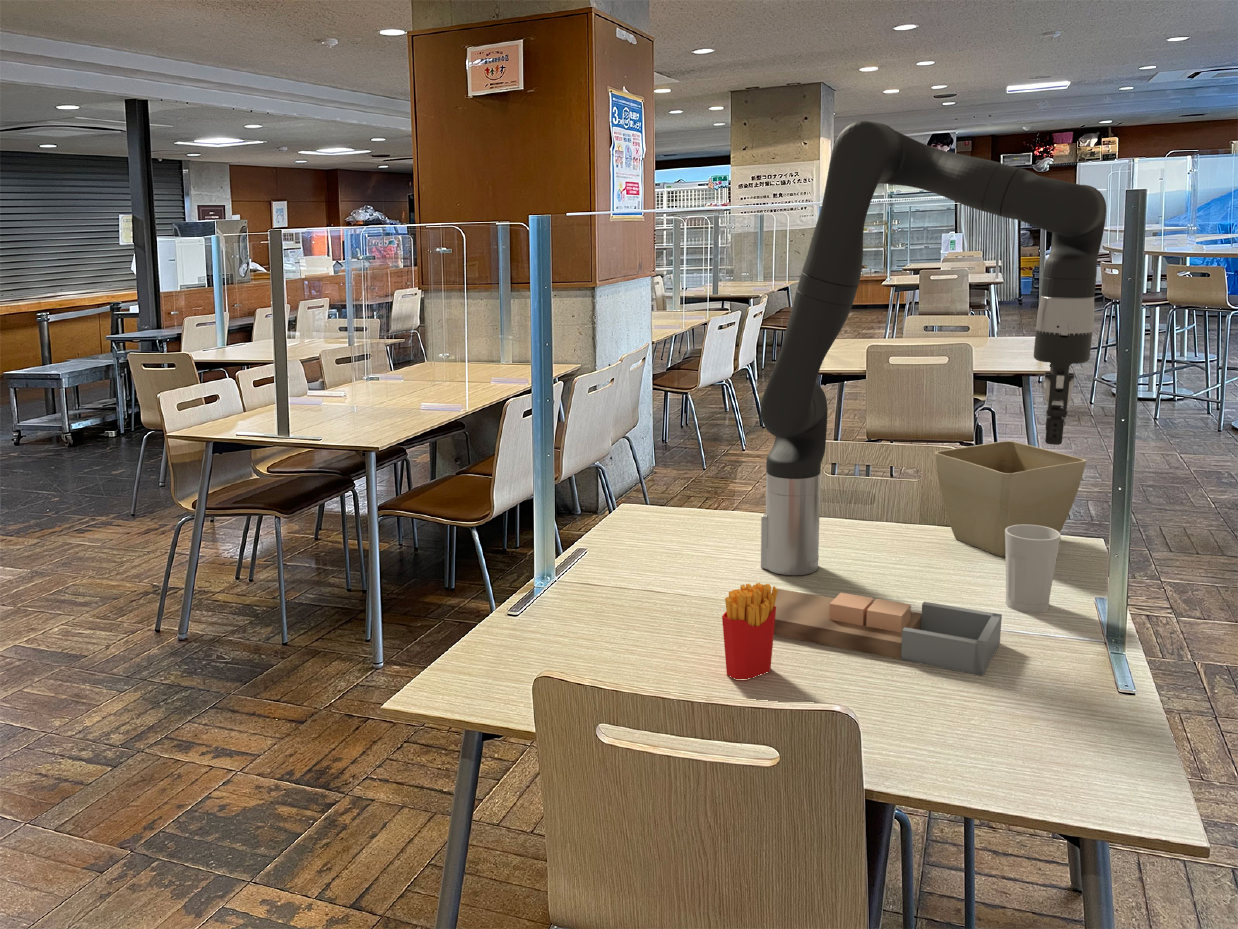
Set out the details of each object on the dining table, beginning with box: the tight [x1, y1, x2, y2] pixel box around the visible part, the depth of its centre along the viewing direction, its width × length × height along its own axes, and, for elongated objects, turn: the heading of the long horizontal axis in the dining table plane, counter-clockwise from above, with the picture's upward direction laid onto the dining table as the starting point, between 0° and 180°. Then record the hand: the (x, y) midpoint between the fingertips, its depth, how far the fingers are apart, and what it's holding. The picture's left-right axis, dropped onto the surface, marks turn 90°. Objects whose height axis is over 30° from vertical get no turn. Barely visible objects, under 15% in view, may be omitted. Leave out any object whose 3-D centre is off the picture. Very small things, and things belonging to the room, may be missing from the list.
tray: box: [901, 601, 1003, 676], centre depth 143 cm, size 11×12×4 cm
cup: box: [1005, 525, 1061, 614], centre depth 158 cm, size 8×8×12 cm
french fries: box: [721, 582, 779, 679], centre depth 137 cm, size 8×4×12 cm, turn 124°
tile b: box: [866, 598, 912, 633], centre depth 147 cm, size 5×5×2 cm
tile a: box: [829, 592, 874, 626], centre depth 150 cm, size 5×5×2 cm
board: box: [774, 588, 922, 661], centre depth 152 cm, size 23×12×2 cm, turn 60°
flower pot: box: [934, 440, 1087, 557], centre depth 187 cm, size 19×19×17 cm
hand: (1053, 437), depth 150 cm, fingers open, 8 cm apart
